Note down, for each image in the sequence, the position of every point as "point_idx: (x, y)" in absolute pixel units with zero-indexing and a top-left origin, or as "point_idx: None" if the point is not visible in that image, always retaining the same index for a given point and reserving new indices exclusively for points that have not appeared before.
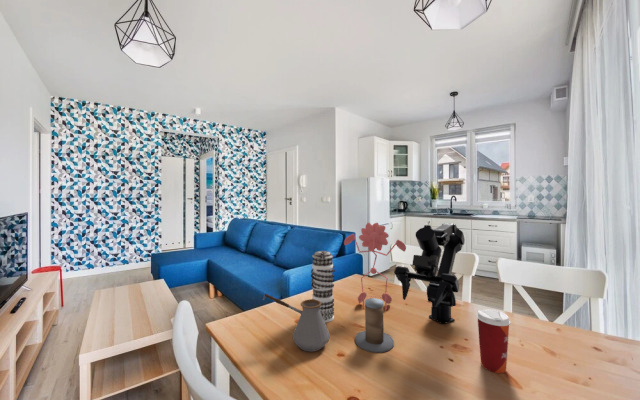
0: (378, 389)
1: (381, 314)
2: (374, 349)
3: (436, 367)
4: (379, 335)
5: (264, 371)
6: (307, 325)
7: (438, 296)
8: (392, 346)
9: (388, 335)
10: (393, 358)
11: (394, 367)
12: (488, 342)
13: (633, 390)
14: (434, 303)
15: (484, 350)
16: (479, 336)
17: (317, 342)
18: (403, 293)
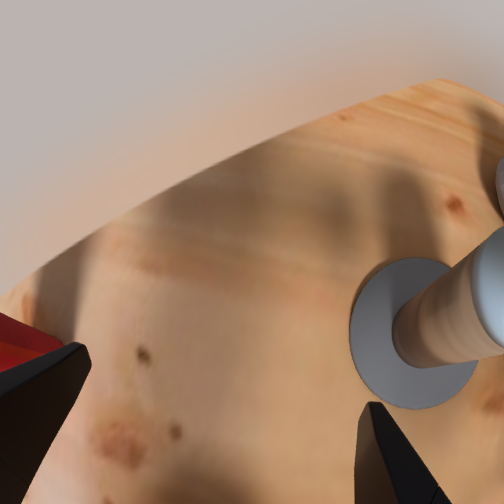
0: (309, 134)
1: (448, 288)
2: (396, 266)
3: (184, 287)
4: (409, 303)
5: (491, 109)
6: None
7: (10, 373)
8: (350, 327)
9: (388, 398)
10: (324, 265)
11: (305, 221)
12: (2, 315)
13: None
14: (72, 349)
15: (31, 333)
16: (13, 345)
17: (501, 163)
18: (393, 433)
